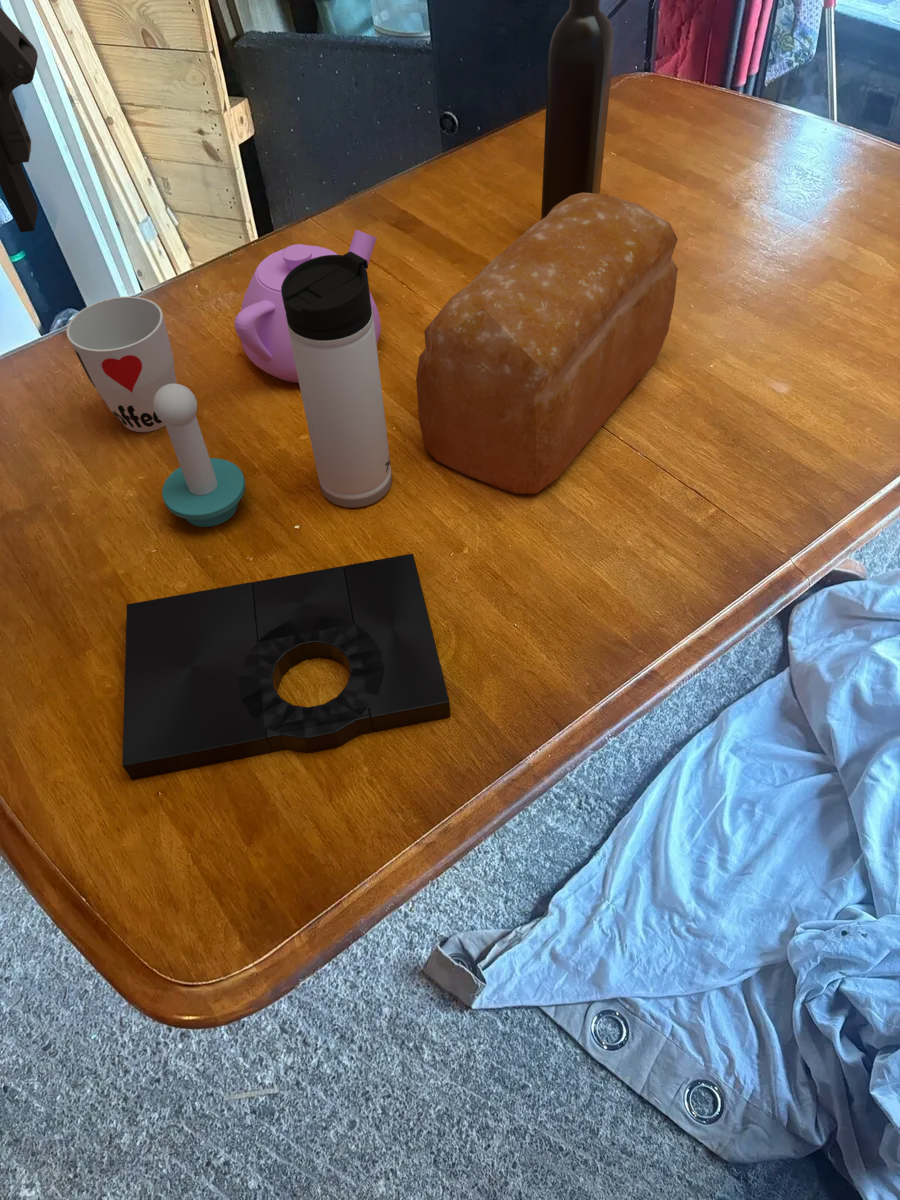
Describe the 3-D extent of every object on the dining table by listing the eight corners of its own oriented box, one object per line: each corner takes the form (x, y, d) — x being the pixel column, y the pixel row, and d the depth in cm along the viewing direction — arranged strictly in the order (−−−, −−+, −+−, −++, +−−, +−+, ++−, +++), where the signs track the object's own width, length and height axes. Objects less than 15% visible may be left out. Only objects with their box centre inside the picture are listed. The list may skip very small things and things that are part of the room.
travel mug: (410, 480, 77) (390, 270, 62) (352, 520, 75) (316, 310, 59) (363, 447, 80) (332, 238, 65) (305, 484, 77) (259, 275, 62)
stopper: (171, 543, 74) (122, 424, 64) (170, 487, 78) (124, 367, 68) (253, 528, 74) (217, 409, 65) (248, 474, 79) (213, 354, 69)
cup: (89, 434, 83) (47, 343, 75) (133, 381, 88) (98, 290, 80) (166, 449, 81) (132, 357, 73) (207, 395, 86) (179, 303, 78)
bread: (407, 453, 80) (392, 296, 67) (551, 308, 93) (560, 156, 81) (542, 511, 74) (552, 353, 62) (674, 348, 88) (703, 192, 76)
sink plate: (131, 788, 60) (121, 774, 58) (134, 620, 69) (126, 604, 67) (452, 724, 62) (451, 709, 60) (414, 569, 71) (413, 553, 69)
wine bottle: (537, 248, 100) (551, -76, 77) (549, 222, 104) (567, -95, 80) (586, 255, 99) (616, -72, 76) (597, 229, 102) (629, -92, 79)
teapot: (430, 314, 93) (424, 216, 85) (311, 422, 83) (291, 322, 74) (326, 278, 98) (311, 182, 90) (201, 376, 88) (171, 277, 79)
